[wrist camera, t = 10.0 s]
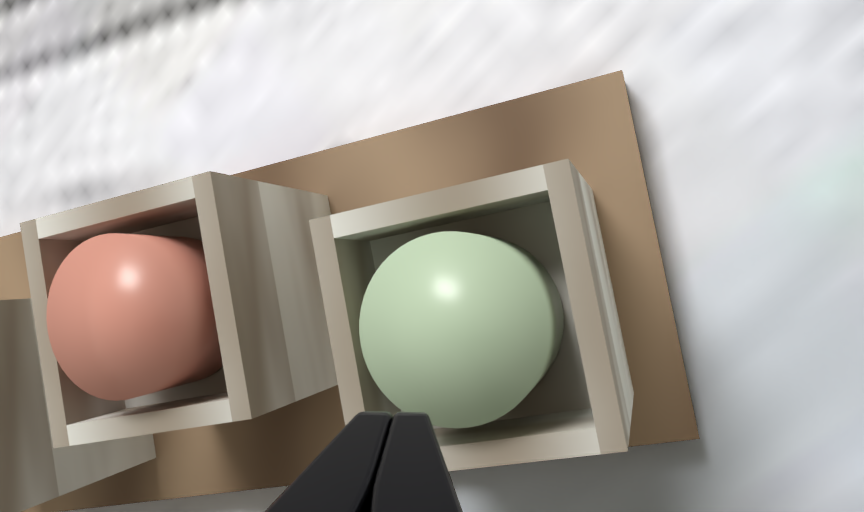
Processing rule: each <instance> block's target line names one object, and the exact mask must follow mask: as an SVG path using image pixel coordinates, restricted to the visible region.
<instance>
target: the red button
mask: <svg viewBox="0 0 864 512" xmlns="http://www.w3.org/2000/svg"><path fill="white" fill-rule="evenodd" d="M46 320H47V331H48V336H49V340H50V344H51V347H52V350H53V353H54V355H55V357H56V359H57V361H58V363H59V365H60V366H61V368H62V370H63V371H64V372H65V374H66V375H67V376H68V377H69V379H70V380H71V381H72V382H73V383H74V384H75V385H77V386H78V387H79V388H80V389H82V390H83V391H85V392H87V393H88V394H90V395H93V396H95V397H97V398H101V399H105V400H113V401H119V400H127V399H131V398H135V397H139V396H143V395H147V394H150V393H154V392H158V391H162V390H165V389H169V388H173V387H177V386H181V385H184V384H188V383H192V382H196V381H199V380H202V379H204V378H207V377H209V376H210V375H212V374H214V373H215V372H216V371H218V370H219V369H220V368H221V367H222V366H223V363H222V357H221V351H220V345H219V339H218V333H217V327H216V321H215V315H214V309H213V303H212V297H211V291H210V285H209V278H208V272H207V266H206V260H205V254H204V248H203V242H202V241H201V240H197V239H194V238H188V237H176V236H157V235H138V234H120V233H108V234H103V235H98V236H95V237H92V238H90V239H88V240H86V241H84V242H82V243H81V244H80V245H78V246H77V247H76V248H75V249H73V250H72V251H71V252H70V253H69V254H68V256H67V257H66V258H65V259H64V261H63V262H62V263H61V265H60V267H59V268H58V270H57V272H56V274H55V276H54V278H53V281H52V284H51V287H50V291H49V295H48V301H47V316H46Z"/></svg>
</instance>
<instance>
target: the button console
mask: <svg viewBox="0 0 864 512" xmlns="http://www.w3.org/2000/svg"><path fill="white" fill-rule="evenodd" d="M20 227H21V232H18V233H14V234H10V235H7V236H3V237H0V512H59V511H68V510H77V509H85V508H94V507H103V506H112V505H121V504H129V503H138V502H147V501H156V500H165V499H173V498H182V497H191V496H200V495H209V494H218V493H226V492H235V491H244V490H253V489H262V488H270V487H279V486H288V485H290V484H291V483H292V482H293V481H294V480H295V479H296V478H297V477H298V476H299V475H300V474H301V473H302V472H303V470H304V469H305V468H306V467H307V466H308V465H309V464H310V463H311V462H312V461H313V460H314V459H315V458H316V457H317V456H318V455H319V453H320V452H321V451H322V450H323V449H324V448H325V447H326V446H327V445H328V444H329V443H330V442H331V441H332V440H333V439H334V438H335V436H336V435H337V434H338V433H339V432H340V431H341V430H342V429H343V428H344V427H345V426H346V425H347V424H348V423H349V422H350V421H351V419H352V418H353V417H354V416H355V415H356V414H358V413H360V412H363V411H383V412H390V413H391V414H392V415H393V416H394V415H395V414H396V413H397V412H404V411H402V410H401V409H399V408H398V407H397V406H396V405H394V404H393V403H392V402H391V401H390V400H389V399H388V398H387V397H386V396H385V395H384V393H383V392H382V391H381V390H380V388H379V387H378V385H377V384H376V383H375V381H374V380H373V378H372V376H371V374H370V372H369V370H368V368H367V365H366V362H365V360H364V357H363V353H362V348H361V343H360V335H359V319H360V311H361V305H362V302H363V298H364V295H365V292H366V289H367V287H368V284H369V283H370V281H371V279H372V277H373V275H374V274H375V272H376V271H377V269H378V268H379V267H380V265H381V264H382V263H383V262H384V261H385V260H386V259H387V258H388V257H389V256H390V255H391V254H392V253H393V252H394V251H396V250H397V249H398V248H399V247H401V246H403V245H404V244H406V243H408V242H409V241H411V240H414V239H416V238H418V237H421V236H424V235H428V234H431V233H437V232H444V231H458V232H466V233H473V234H479V235H485V236H491V237H497V238H500V239H504V240H507V241H510V242H512V243H514V244H516V245H518V246H520V247H522V248H523V249H525V250H527V251H528V252H529V253H530V254H532V255H533V256H534V257H535V258H536V259H537V260H538V261H539V262H540V263H541V264H542V265H543V266H544V267H545V269H546V270H547V271H548V273H549V274H550V276H551V278H552V279H553V281H554V283H555V285H556V287H557V290H558V292H559V295H560V299H561V302H562V308H563V315H564V329H563V336H562V341H561V345H560V349H559V351H558V354H557V356H556V358H555V361H554V362H553V364H552V366H551V367H550V369H549V370H548V372H547V373H546V374H545V375H544V377H543V378H542V379H541V380H540V381H539V382H538V384H537V385H536V386H535V387H534V388H533V389H532V390H531V391H530V392H529V393H528V395H527V396H526V397H525V398H524V399H523V400H522V401H521V402H520V403H519V404H518V405H517V406H516V407H515V408H513V409H512V410H510V411H509V412H508V413H506V414H505V415H503V416H501V417H499V418H497V419H496V420H494V421H491V422H488V423H486V424H483V425H479V426H474V427H469V428H444V427H439V426H434V425H432V426H433V429H434V432H435V434H436V437H437V440H438V443H439V446H440V449H441V452H442V454H443V457H444V460H445V463H446V466H447V469H448V471H456V470H465V469H474V468H483V467H492V466H501V465H510V464H519V463H528V462H537V461H546V460H555V459H564V458H573V457H582V456H591V455H599V454H608V453H617V452H626V451H628V447H632V446H640V445H649V444H658V443H667V442H676V441H684V440H693V439H700V438H699V434H698V429H697V424H696V419H695V415H694V410H693V405H692V400H691V396H690V391H689V386H688V381H687V377H686V372H685V367H684V362H683V358H682V353H681V348H680V343H679V338H678V334H677V329H676V324H675V319H674V315H673V310H672V305H671V300H670V296H669V291H668V286H667V281H666V277H665V272H664V267H663V262H662V258H661V253H660V248H659V243H658V238H657V234H656V229H655V224H654V219H653V215H652V210H651V205H650V200H649V196H648V191H647V186H646V181H645V177H644V172H643V167H642V162H641V158H640V153H639V148H638V143H637V138H636V134H635V129H634V124H633V119H632V115H631V110H630V105H629V100H628V96H627V91H626V86H625V81H624V77H623V72H622V70H621V71H617V72H613V73H610V74H606V75H602V76H598V77H595V78H591V79H587V80H584V81H580V82H576V83H572V84H569V85H565V86H561V87H557V88H554V89H550V90H546V91H543V92H539V93H535V94H531V95H528V96H524V97H520V98H517V99H513V100H509V101H505V102H502V103H498V104H494V105H490V106H487V107H483V108H479V109H476V110H472V111H468V112H464V113H461V114H457V115H453V116H450V117H446V118H442V119H438V120H435V121H431V122H427V123H423V124H420V125H416V126H412V127H409V128H405V129H401V130H397V131H394V132H390V133H386V134H383V135H379V136H375V137H371V138H368V139H364V140H360V141H356V142H353V143H349V144H345V145H342V146H338V147H334V148H330V149H327V150H323V151H319V152H316V153H312V154H308V155H304V156H301V157H297V158H293V159H290V160H286V161H282V162H278V163H275V164H271V165H267V166H263V167H260V168H256V169H252V170H249V171H245V172H241V173H237V174H234V175H226V174H221V173H216V172H211V171H209V172H206V173H202V174H198V175H195V176H191V177H187V178H184V179H180V180H176V181H173V182H169V183H165V184H162V185H158V186H154V187H151V188H147V189H143V190H140V191H136V192H132V193H129V194H125V195H121V196H118V197H114V198H111V199H107V200H103V201H100V202H96V203H92V204H89V205H85V206H81V207H78V208H74V209H70V210H67V211H63V212H59V213H56V214H52V215H48V216H45V217H41V218H37V219H34V220H30V221H26V222H23V223H20ZM108 233H120V234H138V235H157V236H176V237H188V238H194V239H197V240H201V241H202V242H203V248H204V254H205V260H206V266H207V272H208V278H209V285H210V291H211V297H212V303H213V309H214V315H215V321H216V327H217V333H218V339H219V345H220V351H221V357H222V363H223V366H222V367H221V368H220V369H219V370H218V371H216V372H215V373H214V374H212V375H210V376H209V377H207V378H204V379H202V380H199V381H196V382H192V383H188V384H184V385H181V386H177V387H173V388H169V389H165V390H162V391H158V392H154V393H150V394H147V395H143V396H139V397H135V398H131V399H127V400H119V401H113V400H105V399H101V398H97V397H95V396H93V395H90V394H88V393H87V392H85V391H83V390H82V389H80V388H79V387H78V386H77V385H75V384H74V383H73V382H72V381H71V380H70V379H69V377H68V376H67V375H66V374H65V372H64V371H63V370H62V368H61V366H60V365H59V363H58V361H57V359H56V357H55V355H54V353H53V350H52V347H51V344H50V340H49V336H48V331H47V320H46V316H47V301H48V295H49V291H50V287H51V284H52V281H53V278H54V276H55V274H56V272H57V270H58V268H59V267H60V265H61V263H62V262H63V261H64V259H65V258H66V257H67V256H68V254H69V253H70V252H71V251H72V250H73V249H75V248H76V247H77V246H78V245H80V244H81V243H82V242H84V241H86V240H88V239H90V238H92V237H95V236H98V235H103V234H108Z"/></svg>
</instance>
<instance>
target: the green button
mask: <svg viewBox="0 0 864 512" xmlns="http://www.w3.org/2000/svg"><path fill="white" fill-rule="evenodd" d="M563 329H564V315H563V308H562V302H561V299H560V295H559V292H558V290H557V287H556V285H555V283H554V281H553V279H552V278H551V276H550V274H549V273H548V271H547V270H546V269H545V267H544V266H543V265H542V264H541V263H540V262H539V261H538V260H537V259H536V258H535V257H534V256H533V255H532V254H530V253H529V252H528V251H527V250H525V249H523V248H522V247H520V246H518V245H516V244H514V243H512V242H510V241H507V240H504V239H500V238H497V237H491V236H485V235H479V234H473V233H466V232H458V231H444V232H437V233H431V234H428V235H424V236H421V237H418V238H416V239H414V240H411V241H409V242H408V243H406V244H404V245H403V246H401V247H399V248H398V249H397V250H396V251H394V252H393V253H392V254H391V255H390V256H389V257H388V258H387V259H386V260H385V261H384V262H383V263H382V264H381V265H380V267H379V268H378V269H377V271H376V272H375V274H374V275H373V277H372V279H371V281H370V283H369V284H368V287H367V289H366V292H365V295H364V298H363V302H362V305H361V311H360V319H359V335H360V343H361V348H362V353H363V357H364V360H365V362H366V365H367V368H368V370H369V372H370V374H371V376H372V378H373V380H374V381H375V383H376V384H377V385H378V387H379V388H380V390H381V391H382V392H383V393H384V395H385V396H386V397H387V398H388V399H389V400H390V401H391V402H392V403H393V404H394V405H396V406H397V407H398V408H399V409H401V410H402V411H404V412H425V413H427V414H428V415H429V417H430V420H431V423H432V425H434V426H439V427H444V428H469V427H474V426H479V425H483V424H486V423H488V422H491V421H494V420H496V419H497V418H499V417H501V416H503V415H505V414H506V413H508V412H509V411H510V410H512V409H513V408H515V407H516V406H517V405H518V404H519V403H520V402H521V401H522V400H523V399H524V398H525V397H526V396H527V395H528V393H529V392H530V391H531V390H532V389H533V388H534V387H535V386H536V385H537V384H538V382H539V381H540V380H541V379H542V378H543V377H544V375H545V374H546V373H547V372H548V370H549V369H550V367H551V366H552V364H553V362H554V361H555V358H556V356H557V354H558V351H559V349H560V345H561V341H562V336H563Z"/></svg>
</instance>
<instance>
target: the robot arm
mask: <svg viewBox="0 0 864 512" xmlns="http://www.w3.org/2000/svg"><path fill="white" fill-rule="evenodd" d="M265 512H462V509H461V506H460V503H459V500H458V497H457V495H456V492H455V489H454V486H453V483H452V480H451V477H450V474H449V472H448V469H447V466H446V463H445V460H444V457H443V454H442V452H441V449H440V446H439V443H438V440H437V437H436V434H435V432H434V429H433V426H432V423H431V420H430V417H429V415H428V414H427V413H425V412H397V413H396V414H395V415H394V416H393V415H392V414H391V413H390V412H383V411H363V412H360V413H358V414H356V415H355V416H354V417H353V418H352V419H351V421H350V422H349V423H348V424H347V425H346V426H345V427H344V428H343V429H342V430H341V431H340V432H339V433H338V434H337V435H336V436H335V438H334V439H333V440H332V441H331V442H330V443H329V444H328V445H327V446H326V447H325V448H324V449H323V450H322V451H321V452H320V453H319V455H318V456H317V457H316V458H315V459H314V460H313V461H312V462H311V463H310V464H309V465H308V466H307V467H306V468H305V469H304V470H303V472H302V473H301V474H300V475H299V476H298V477H297V478H296V479H295V480H294V481H293V482H292V483H291V484H290V485H289V486H288V487H287V489H286V490H285V491H284V492H283V493H282V494H281V495H280V496H279V497H278V498H277V499H276V500H275V501H274V502H273V503H272V504H271V506H270V507H269V508H268V509H267V510H266V511H265Z"/></svg>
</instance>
